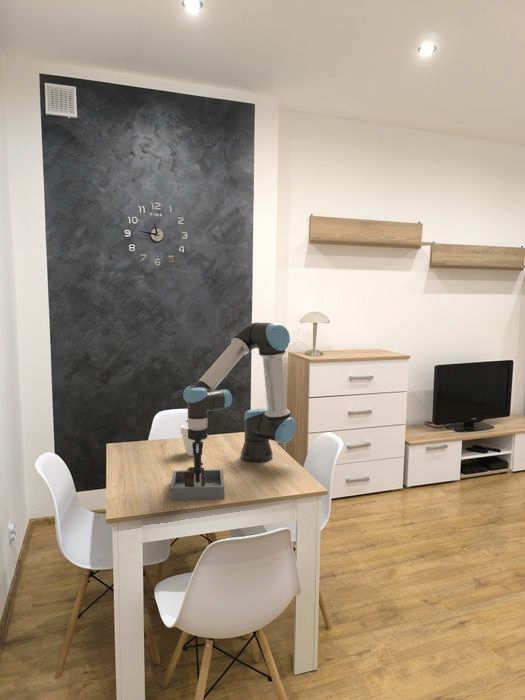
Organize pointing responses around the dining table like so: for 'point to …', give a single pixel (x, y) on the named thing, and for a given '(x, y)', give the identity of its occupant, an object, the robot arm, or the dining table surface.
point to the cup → (187, 440)
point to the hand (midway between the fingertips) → (197, 485)
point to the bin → (209, 491)
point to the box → (192, 477)
